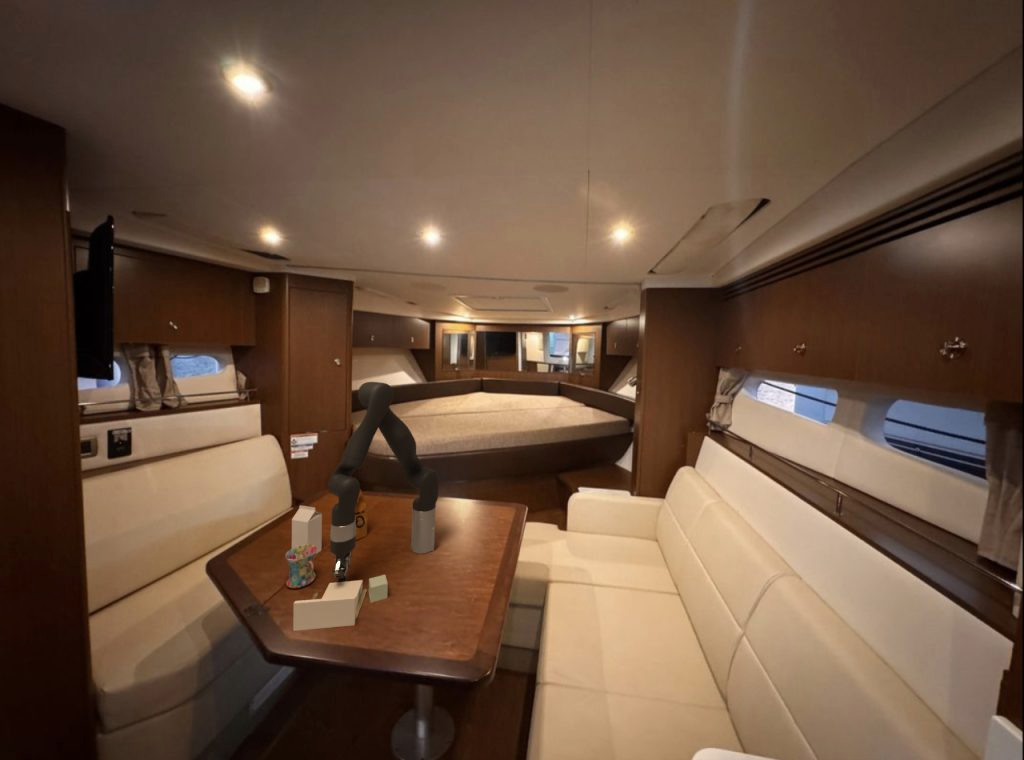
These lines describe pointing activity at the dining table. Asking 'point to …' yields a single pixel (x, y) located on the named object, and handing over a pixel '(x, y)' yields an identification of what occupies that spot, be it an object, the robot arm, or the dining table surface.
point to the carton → (344, 590)
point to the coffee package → (361, 517)
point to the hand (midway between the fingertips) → (342, 585)
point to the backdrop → (324, 613)
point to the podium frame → (357, 605)
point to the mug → (300, 565)
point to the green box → (378, 588)
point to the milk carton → (307, 528)
